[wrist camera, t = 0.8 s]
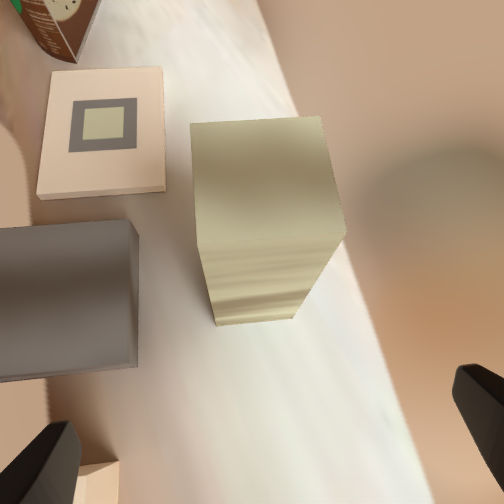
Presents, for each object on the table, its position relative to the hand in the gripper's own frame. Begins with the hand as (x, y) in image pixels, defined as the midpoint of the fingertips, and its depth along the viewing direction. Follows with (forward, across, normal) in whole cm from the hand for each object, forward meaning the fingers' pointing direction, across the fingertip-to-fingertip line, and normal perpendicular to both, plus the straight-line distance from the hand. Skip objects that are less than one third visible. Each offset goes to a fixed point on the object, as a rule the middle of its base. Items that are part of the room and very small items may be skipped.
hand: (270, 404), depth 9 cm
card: (+26, +9, -3) cm, 28 cm away
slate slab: (+16, +12, +6) cm, 20 cm away
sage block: (+15, 0, +6) cm, 17 cm away
